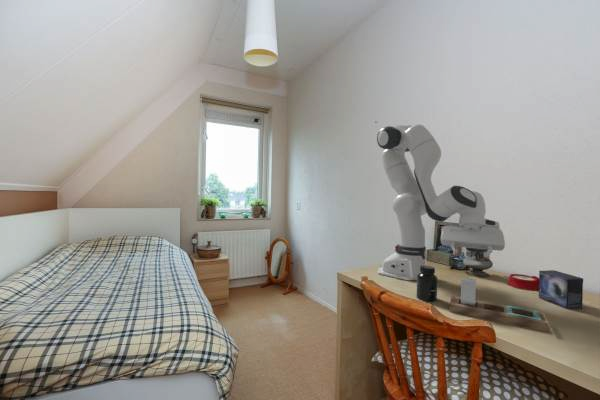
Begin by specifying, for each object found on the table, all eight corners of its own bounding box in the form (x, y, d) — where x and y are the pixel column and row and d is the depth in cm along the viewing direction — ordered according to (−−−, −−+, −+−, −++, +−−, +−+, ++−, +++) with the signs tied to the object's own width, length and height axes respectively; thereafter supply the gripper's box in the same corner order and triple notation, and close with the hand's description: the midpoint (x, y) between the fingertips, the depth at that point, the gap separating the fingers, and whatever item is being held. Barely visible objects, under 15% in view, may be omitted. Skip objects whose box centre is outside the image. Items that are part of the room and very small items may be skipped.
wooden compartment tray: (449, 313, 90) (449, 303, 90) (451, 304, 98) (451, 294, 97) (547, 334, 77) (547, 322, 77) (541, 321, 84) (542, 311, 84)
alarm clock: (500, 273, 125) (539, 268, 121) (503, 287, 124) (543, 282, 121) (511, 280, 115) (554, 275, 111) (515, 295, 114) (558, 290, 111)
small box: (536, 297, 105) (537, 270, 105) (552, 297, 105) (553, 269, 105) (566, 309, 94) (567, 278, 94) (583, 308, 95) (584, 278, 95)
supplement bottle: (435, 305, 97) (436, 270, 96) (414, 300, 100) (415, 267, 100) (438, 298, 103) (438, 266, 102) (418, 295, 106) (418, 263, 106)
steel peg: (460, 310, 90) (461, 280, 90) (461, 306, 94) (461, 277, 94) (475, 313, 88) (475, 282, 88) (475, 309, 92) (475, 279, 91)
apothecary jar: (458, 270, 142) (458, 235, 141) (482, 271, 141) (483, 235, 141) (471, 277, 130) (472, 239, 129) (498, 278, 129) (499, 239, 128)
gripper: (441, 219, 112) (437, 247, 104) (504, 222, 101) (505, 254, 93) (442, 229, 116) (438, 257, 108) (503, 233, 105) (504, 264, 97)
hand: (470, 255), depth 100 cm, fingers open, 8 cm apart
